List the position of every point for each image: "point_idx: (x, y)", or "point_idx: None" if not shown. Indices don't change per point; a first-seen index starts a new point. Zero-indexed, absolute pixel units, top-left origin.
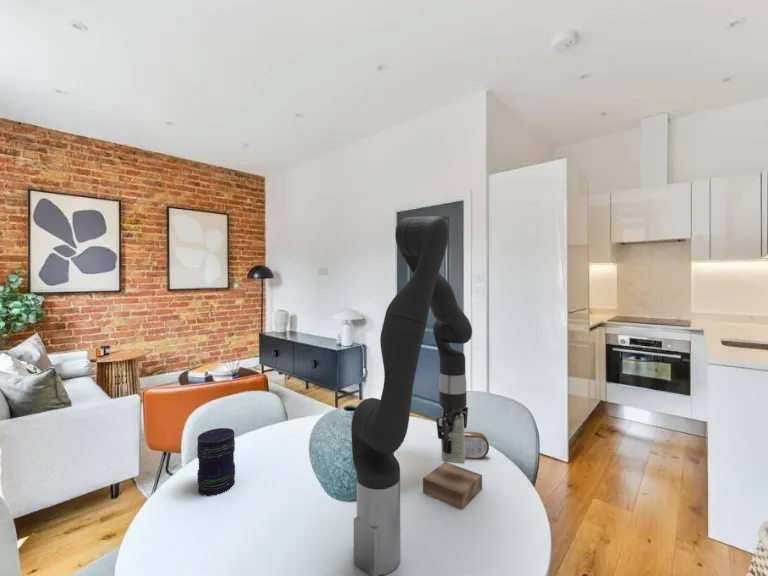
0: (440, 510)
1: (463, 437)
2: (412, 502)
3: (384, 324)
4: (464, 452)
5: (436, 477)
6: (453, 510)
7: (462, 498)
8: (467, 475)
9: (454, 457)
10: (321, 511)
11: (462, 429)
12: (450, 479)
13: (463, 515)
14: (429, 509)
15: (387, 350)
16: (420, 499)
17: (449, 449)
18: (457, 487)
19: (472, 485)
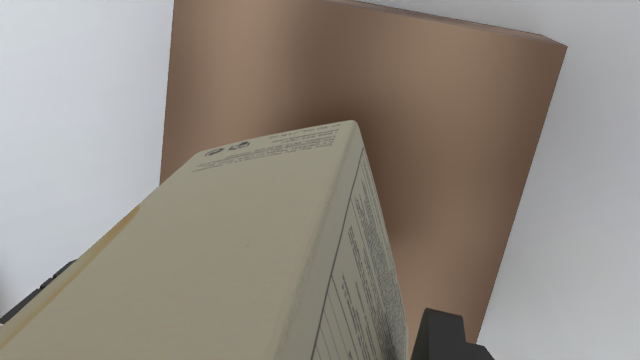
0: (608, 165)
1: (281, 266)
2: (591, 343)
3: None
4: (270, 160)
5: (405, 298)
6: (572, 87)
7: (551, 41)
8: (252, 88)
9: (379, 245)
10: None
11: None
12: (383, 196)
13: (604, 6)
14: (625, 231)
15: None
16: (538, 311)
17: (465, 357)
18: (477, 111)
19: (368, 8)
